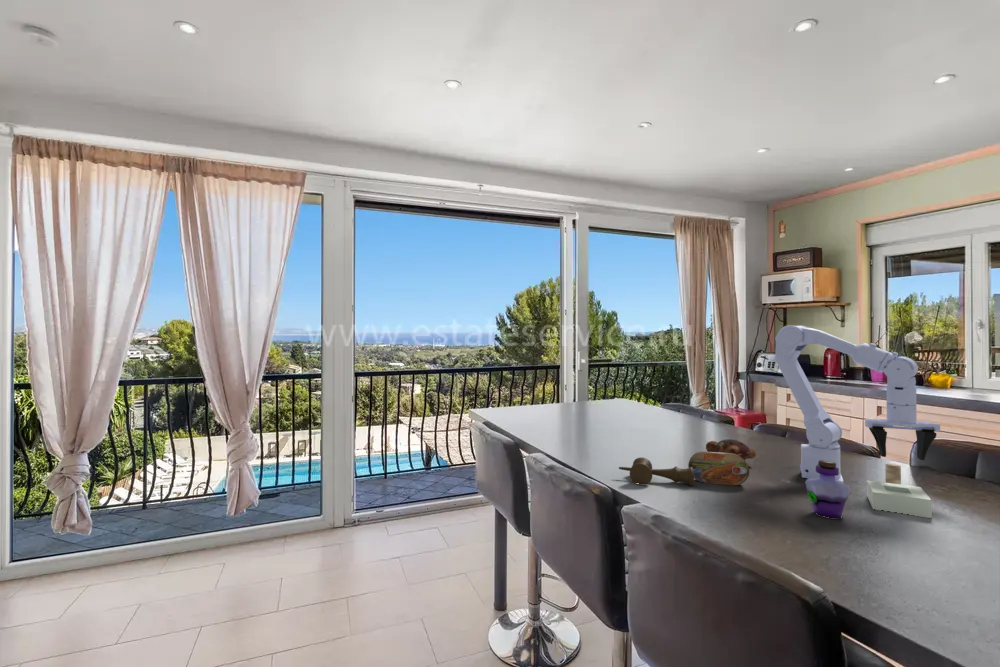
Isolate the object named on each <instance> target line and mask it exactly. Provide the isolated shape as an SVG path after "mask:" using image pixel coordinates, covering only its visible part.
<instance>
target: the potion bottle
mask: <svg viewBox="0 0 1000 667" xmlns="http://www.w3.org/2000/svg"><path fill="white" fill-rule="evenodd" d="M818 464H819V465H816V472H817V473H820V478H806V480H805V481H804V483H805V487H806V488H805V489H806V492H807V498H808V501H809V502H811V505H812V508H813V514H814V515H816V514H815V513H817V514H818V515H820V516H825V517H829V518H841V516H843V513H844V509H845V505H846V502H847V500H848V498H849V496H850V495H849V493H850V491H851V485H850V484H847V483H842V482H840V481H836V480H835V476H838V475H839V468H837V467H836V463H835V462H831V461H826V460H819V462H818ZM818 515H817V516H818ZM820 516H819V517H820Z"/></svg>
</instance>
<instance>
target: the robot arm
mask: <svg viewBox="0 0 1000 667" xmlns="http://www.w3.org/2000/svg"><path fill="white" fill-rule="evenodd" d="M774 340H775V355H774V359H775V362H776V363H777V366H778V368H779V371H780V372H781V374H782V375H783V378H784V380H785V381H786V383H787V385H788V387H789V389H790V391H791V394H792V395H793V397H794V399H795V401H796V403H797V404H798V407H799V409H800V410H801V412H802V414H803V415H802V416H803V424H804V427H805V430H806V431H805V432H806V435H805V436H806V438H807V440H808V443H806V444H804V443H801V444H800V459H801V460H800V463H799V470H800V471H801V478H803V479H804V478H805V479H810V478H820V473H817V472H816V465H819V464H818V462H819V460H826V461H831V462H835V463H836V467H837V468H839V475H838V476H835V480H836V481H840V482H842V483H844V478H843V476H842V473H841V471H842V470H841V445H840V444H839V442H838V441H839V440H840V439H841V438H842V437H843V429H842V428H841V426H840V425H839V424H838V423H837V422H835V421H834V420H833V418H832V416H831V415H830V414H829V413H828V412H827V411H826V410H825V409H824V408H823V406H822V404H821V402H820V400H819V398H818V396H817V394H816V392H815V391H814V389H813V387H812V385H811V383H810V381H809V379H808V378H807V376H806V374H805V372H804V369H803V368H802V367H801V366H802V365H800V363H799V360H798V358H799V356H800V354H801V352H802V350H804V349H805V348H806V347H807V346H808V345H820V346H823V347H826V348H829V349H831V350H834V351H837V352H840V353H843V354H846V355H848V356H850V358H851V359H852V361H853V363H855V364H858V365H861V366H863V367H864V368H865V367H866V368H868V369H870V370H873V371H876V372H878V373H884V375H885V376H886V377H887V378H886V379H887V381H886V382H887V383H886V419H885V418H883V419H882V418H879V419H877V418H865V419H864V425H865V427H866V428H868V429H869V431H870V433H871V434H872V436H873V438H874V440H875V443H876V445H877V447H878V451H879V452H878V453H879V456H881V457H883V458H884V457H885V458H886V457H887V446H886V445H887V437H888V432H887V431H886V429H894V430H897V429H898V430H910V431H915V436H916V442H917V443H916V444H917V449H916V456H917V459H919V460H920V461H925V459H926V455H927V452H928V450H929V448H930V446H931V444H932V443H933V441H934V440H935V439H936V437H937V433H936V432H938V433H941V424H940V423H938V422H930V421H928V422H927V421H918V420H917V386H916V384H917V380H916V377H915V376H916V375H917V373H918V370H919V368H918V364H917V363H916V361H914V360H913V359H912V358H910V357H908V356H906V355H905V356H904V355H901V356H898V355H899V353H898V352H897V351H893V352H890V351H888V350H885V349H882V348H879V347H878V345H877V344H876V343H873V342H871V343H867V342H865V343H861V344H854V343H852V342H850V341H847V340H845V339H842V338H841V337H838V336H835V335H833V334H831V333H828V332H826V331H824V330H821V329H816V328H814V327H813V328H812V327H808V326H805V325H802V324H800V325H792V324H788V325H785V326H783V327H781V328H780V329H779V331H778V332H777V335H776V336H775V338H774ZM844 484H845V483H844Z"/></svg>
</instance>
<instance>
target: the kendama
mask: <svg viewBox="0 0 1000 667" xmlns="http://www.w3.org/2000/svg"><path fill="white" fill-rule="evenodd" d="M618 469H619V470H622V471H626V472H627V471H628V472H629V479H630V480H631V482H632V483H634V484H635V483H639V484H647V485H649V484H650V483H651V482H652V481H653V480H652V478H653V476H658V477H661V478H665V479H669V480H671V481H672V482H674V483H675V484H677V483H685V484H687V485H689V487H692V486H693V485H694V483H695V478H694V470H693V468H692V467H689V468H679V467H678V466H674V467H671V468H664V469H663V468H662V469H661V468H660V469H657V468H654V469H653V464H652V461H650V460H649V459H648V458H645V457H637V458H635V459H634V460H633V462H632V465H631V467H627V466H619V467H618Z"/></svg>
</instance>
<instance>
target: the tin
mask: <svg viewBox="0 0 1000 667" xmlns="http://www.w3.org/2000/svg"><path fill="white" fill-rule="evenodd" d="M689 467H692V468H693V470H694V480H695V481H698V482H699V483H702V482H704V484H712V485H715V484H716V485H724V486H725V485H726V486H740V485H742V484H744V483H745V482H746V481H747V480H748V478H749V477H750V468H749V465H748V463H747V462H746V460H744V459H743V458H741V457H740V456H738V455H736V454H733V453H719V452H707V451H697V452H695V453H693V454H692V455H691V457H690V459H689V461H688V468H689Z"/></svg>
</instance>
